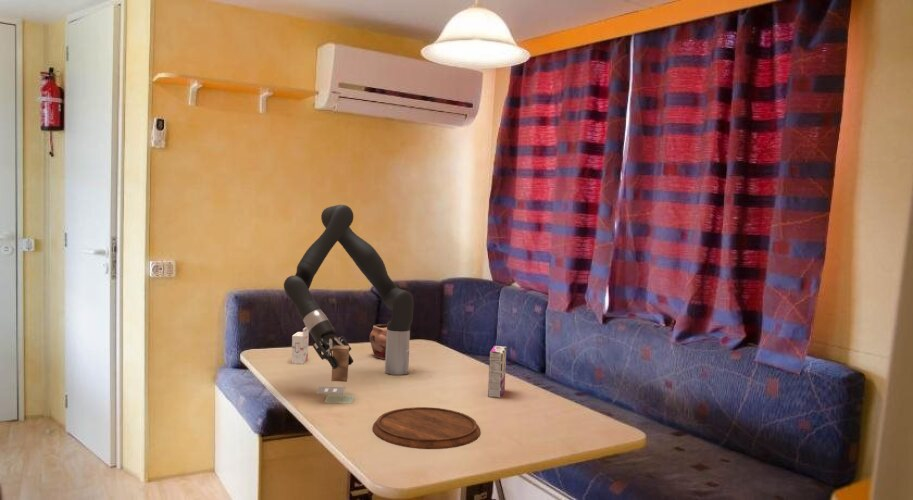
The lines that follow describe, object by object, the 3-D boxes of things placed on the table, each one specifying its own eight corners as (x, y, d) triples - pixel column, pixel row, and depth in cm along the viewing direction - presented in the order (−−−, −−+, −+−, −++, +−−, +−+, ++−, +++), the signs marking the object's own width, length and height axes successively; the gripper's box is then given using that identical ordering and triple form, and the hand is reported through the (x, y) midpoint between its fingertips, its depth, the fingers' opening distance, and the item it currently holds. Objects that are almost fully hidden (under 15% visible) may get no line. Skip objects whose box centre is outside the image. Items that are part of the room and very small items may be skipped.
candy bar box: (491, 389, 241) (493, 345, 240) (504, 390, 240) (507, 346, 239) (486, 397, 230) (489, 351, 229) (500, 398, 229) (503, 352, 228)
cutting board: (422, 407, 215) (423, 400, 215) (501, 431, 195) (502, 423, 195) (349, 429, 191) (350, 421, 191) (431, 459, 171) (431, 450, 170)
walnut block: (347, 377, 220) (349, 345, 219) (346, 381, 215) (348, 348, 214) (332, 377, 220) (334, 345, 219) (331, 381, 215) (332, 348, 214)
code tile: (344, 388, 233) (344, 387, 233) (342, 395, 224) (342, 394, 224) (319, 387, 232) (319, 386, 232) (316, 394, 223) (316, 393, 223)
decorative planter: (359, 353, 291) (361, 322, 290) (383, 350, 298) (385, 320, 297) (381, 362, 274) (383, 330, 274) (406, 359, 281) (407, 328, 281)
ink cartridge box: (296, 359, 273) (297, 324, 272) (308, 359, 273) (309, 325, 272) (290, 363, 265) (292, 328, 264) (302, 364, 265) (304, 328, 264)
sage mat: (353, 396, 223) (354, 395, 223) (352, 404, 214) (352, 403, 214) (327, 396, 222) (327, 394, 222) (324, 403, 213) (324, 402, 213)
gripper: (310, 321, 214) (336, 362, 209) (339, 317, 226) (364, 355, 221) (297, 335, 217) (323, 376, 211) (326, 329, 229) (351, 368, 224)
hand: (344, 365), depth 216 cm, fingers closed on walnut block, 7 cm apart
